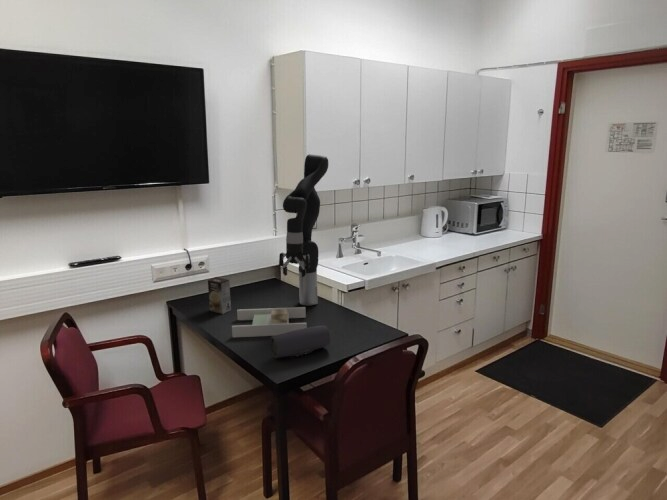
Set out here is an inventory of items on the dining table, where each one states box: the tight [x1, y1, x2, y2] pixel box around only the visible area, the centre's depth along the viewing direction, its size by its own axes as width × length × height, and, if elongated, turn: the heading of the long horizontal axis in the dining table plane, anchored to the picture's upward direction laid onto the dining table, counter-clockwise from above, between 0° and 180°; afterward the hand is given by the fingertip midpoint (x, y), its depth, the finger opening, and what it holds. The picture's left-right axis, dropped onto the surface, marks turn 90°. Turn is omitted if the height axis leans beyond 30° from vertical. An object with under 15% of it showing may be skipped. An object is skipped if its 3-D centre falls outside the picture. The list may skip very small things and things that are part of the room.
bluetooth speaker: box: [269, 324, 331, 359], centre depth 184 cm, size 23×9×10 cm, turn 118°
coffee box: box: [207, 276, 232, 315], centre depth 230 cm, size 9×6×16 cm
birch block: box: [271, 309, 287, 323], centre depth 211 cm, size 7×6×4 cm
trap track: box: [231, 306, 308, 338], centre depth 211 cm, size 32×20×5 cm, turn 95°
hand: (294, 276), depth 214 cm, fingers open, 8 cm apart
